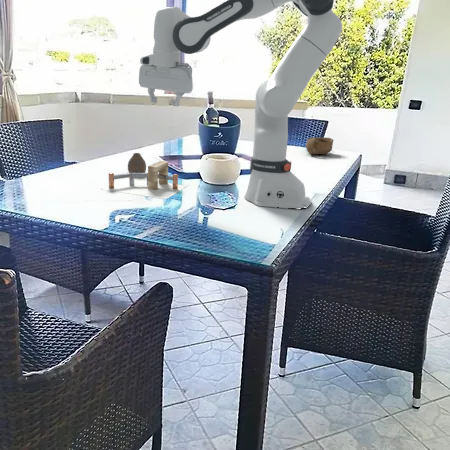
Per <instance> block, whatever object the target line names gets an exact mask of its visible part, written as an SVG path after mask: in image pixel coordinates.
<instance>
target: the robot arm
mask: <svg viewBox="0 0 450 450" xmlns="http://www.w3.org/2000/svg"><path fill="white" fill-rule="evenodd" d="M334 1H335V0H225V1H222V3H220V4H219V5H216V6H215V7H213V8H211V9H210V10H208V11H207V12H205V13H203V14H201V15H198V16H194V17H193V16H192V17H191V16H189V15H188V14H186V12H184V11H182V10H181V8H180V7H177V6H176V7H175V6H168V7H166V6H165V7H162V8H160V9H158V10H157V11H156V14H155V17H154V23H153V24H154V25H153V39H154V43H153V44H154V45H153V48H152V53H151V54H147V55H145V56H141V58H140V61H139V62H140V64H141V66H140V67H139V70H138V71H139V72H138V84H139V86H140V87H141V88H147V93H148V96H149V98H150V99H149V100H150V103H152V104H153V103H154V104H155V103H157V102H158V101H157V100H158V97H156V95H155V91H156V90H159V91H166V92H172V93H173V92H174V93H175V94H174V95H175V96H176V97H175V99H174V100H173V99H172V106H173V107H179V106H180V101H181V99H182V98H183V95H184V94H191V93H192V92H193V88H194V87H193V86H194V85H193V67H192V66H191V65H190V63H187V62H185V63H184V62H181V53H183V54H188V55H193V54H195V53H197V54H198V53H202V52H203V51H205V50H206V49H207V48H208V46H209V45H210V42H211V37H212V36H213V35H215V34H217V33H218V32H220V31H222V30H223V29H225V28H226V27H228V26H229V25H231V24H233V23H235V22H240V21H241V20H243V21H244V20H251V19H253V20H254V19H257V18H259V17H262V16H265V15H267V14H269V13H272V12H273V11H274V10H276V9H278V8H280V7H281V6H282V5H284V4H287V3H289V2H292V4H293V5H294V6H295V7H296V8H297V9H298V10H299V11H300V13H302V14H303V15H305V16H306V17H307V21H306V23H305V25H304V26H303V28H302V29H301V31H300V32H299V33H298V35H297V36H296V37H295V39H294V40H293V42H292V43H291V45H290V46H289V47H288V49H287V50H286V51H285V54H283V56H282V57H281V59H280V61H279V63H278V65H277V67H276V68H275V70H274V71H273V73H272V75H271V76H270V78H269V79H268V80H266V81H264V82H263V83H261V84H260V85H259V86H258V87H257V90H256V93H255V106H254V132H253V133H254V135H253V148H252V156H251V159H250V166H249V172H250V176H249V182H248V185H247V189H246V191H245V195H244V199H245V200H247V201H249V202H251V203H253V204H254V205H255V206H259V207H265V208H266V207H268V208H277V207H279V208H280V209H288V208H304V207H307V206H308V205H309V204H310V203H312V199H311V198H310V197H309V196H307V195H306V188H305V185H304V182H303V181H302V180H301V179H299V178H298V177H297V176H296V175H295V174H294V173H292V171H291V170H292V161H290V160H288V159H287V149H288V142H289V141H288V140H289V133H288V131H289V130H288V128H289V124H288V123H289V115H290V113H291V112H292V110H293V109H294V107H295V106H296V104H297V102H298V101H299V99H300V98H301V96H302V94H303V93H304V91H305V89H306V87H307V86H308V84H309V82H310V80H311V79H312V78H313V77H314V75H315V73H316V72H317V71H318V69H319V67H321V65H322V64H323V62H324V61H325V60H326V58H327V57H328V55H329V54H330V53H331V51H332V50H333V48H334V46H335V44H336V43H337V42H338V39H339V37H340V35H341V33H342V30H343V23H342V21H341V19H340V17H339V16H338V15H337V14H336V13H335V12H334V11H333V7H334Z"/></svg>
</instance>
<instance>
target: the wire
mask: <svg viewBox="0 0 450 450" xmlns="http://www.w3.org/2000/svg"><path fill="white" fill-rule="evenodd" d="M125 178H129V184H130V185H134V178H146V180H147V185H148V172H145V173H129V172H126V173H118V174H115V173H114V172H109V173H108V186H109V188H110V189H113V188H114V183H115V180H119V179H120V180H122V179H125ZM159 179H166V180H168V181H172V183H173V189H178V184H179V174H177V173H173V174H172V175H169V174H168V175H161V174H159V173H158V180H159Z"/></svg>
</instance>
